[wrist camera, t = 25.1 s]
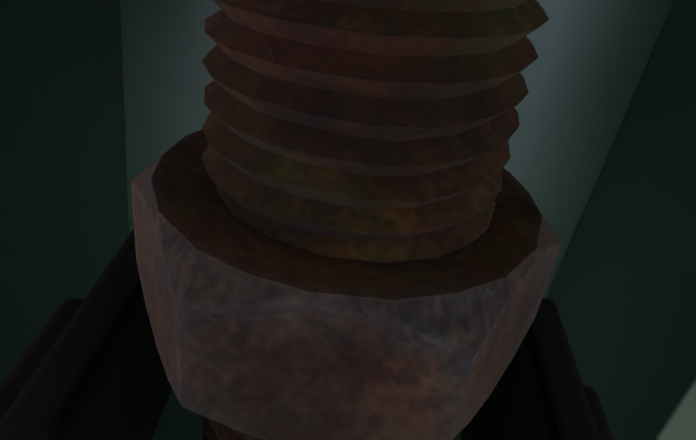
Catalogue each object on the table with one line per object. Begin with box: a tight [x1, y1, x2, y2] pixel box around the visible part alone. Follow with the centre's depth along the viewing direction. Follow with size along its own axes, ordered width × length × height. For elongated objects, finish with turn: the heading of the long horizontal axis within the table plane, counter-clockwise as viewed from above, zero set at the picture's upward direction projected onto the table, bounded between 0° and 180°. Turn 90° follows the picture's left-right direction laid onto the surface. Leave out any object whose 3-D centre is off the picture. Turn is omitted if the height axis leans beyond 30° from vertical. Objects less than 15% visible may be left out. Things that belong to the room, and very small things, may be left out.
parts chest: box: [0, 0, 696, 440], centre depth 14 cm, size 19×15×8 cm
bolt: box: [131, 0, 562, 440], centre depth 9 cm, size 6×5×15 cm
